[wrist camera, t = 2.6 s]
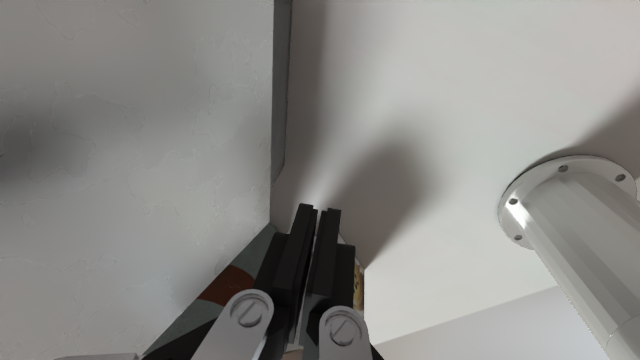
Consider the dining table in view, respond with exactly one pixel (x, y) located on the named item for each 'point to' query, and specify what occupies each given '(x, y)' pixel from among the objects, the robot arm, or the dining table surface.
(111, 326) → the lid
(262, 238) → the bottle
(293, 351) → the coffee box
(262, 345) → the robot arm
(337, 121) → the dining table surface
